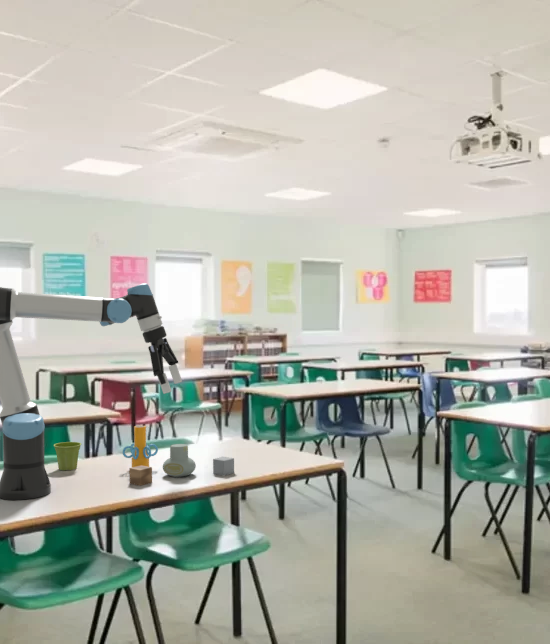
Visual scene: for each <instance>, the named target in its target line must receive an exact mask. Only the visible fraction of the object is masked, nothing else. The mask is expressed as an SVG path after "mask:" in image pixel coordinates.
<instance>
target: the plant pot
mask: <svg viewBox="0 0 550 644" xmlns="http://www.w3.org/2000/svg"><path fill="white" fill-rule="evenodd" d="M81 446H82V443H81V442H78V441H66V442H63V441H62V442H58V443H54V444H53V447H54V450H55V453H56V454H55V455H56V460H57V466H58V470H60V471H68V470H69V471H73V470H74V471H75V470H77V467H78V461H79V454H80V453H79V452H80V449H81Z"/></svg>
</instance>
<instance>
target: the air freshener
mask: <svg viewBox="0 0 550 644" xmlns="http://www.w3.org/2000/svg"><path fill="white" fill-rule="evenodd" d="M169 451H170V452H169V458H167V459H166V460H165V461H164V462H163V464H162V470H163V472H164V473H165V474H167V476H169V477H172V478H183V477H187V476H189V475H191V474H192V473H193V472H194V471H195V470H196V468H197V466H196V464H197V463H196V462H195V461H194V459H193V458H191V457H189V445H187V444H184V443H175V444H171V445H170V447H169Z"/></svg>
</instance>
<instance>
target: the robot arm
mask: <svg viewBox="0 0 550 644" xmlns="http://www.w3.org/2000/svg"><path fill="white" fill-rule="evenodd" d="M149 285H150V284H148V283H146V282H144V283H140V284H138V285H135V286H132V287H129V288H127V291H126V292H127V294H126V295H123V296H120V297H117V298H110V297H95V296H82V295H81V296H79V295H67V294H66V295H65V294H50V293H49V294H48V293H37V292H35V293H33V292H19V291H17V290H15V288H10V287H3V286H0V403H1V404H0V405H1V407H2V410H1V411H0V423H1V428H2V430H1V431H2V437H3V438H2V448H3V450H2V451H3V461H2V462H3V469H2V474H1V477H0V499H3V500H8V501H11V500H13V501H15V500H17V501H18V500H29V499H36V498H37V499H38V498H41V497H43V496H46V495H49V494H50V493H51V491H52V484H51V482H50V478H49V475H48V473H47V471H46V467H45V429H46V428H45V422H44V421H45V420H44V418H43V416H42V415H40V411H39V409H38V407H39V406H38V404H37V403H35V402H33V401H32V400H31V397H30V394H29V391H28V389H27V384H26V382H25V378H24V374H23V370H22V367H21V363H20V361H19V360H20V359H19V357H18V353H17V349H16V347H15V343H14V340H13V337H12V333H11V326H12V325H13V323H14V321H13V320H14V319H15V318H24V319H41V320H42V319H43V320H44V319H46V320H60V321H78V322H79V321H80V322H98V323H99V325H101V326H102V327H106V326H112V325H113V324H123V323H126V322H127V321H128V320H129V319H130V318H133V317H136V320H137V322H138V326H139V329H140V331H141V332H142V336H143V340H144V342H145V343H146V344H148V343H150V345H149V346H148V347H147V349H148V352H149V356H150V360H151V367H152V368H151V369H152V372H153V376H154V377H157V379H158V382H159V385H160V388H161V391H162V393H163V395H164V394H169V393H171V392H172V388H171V385H170V382H169V379H168V376H167V374H166V372H165V369H164V361H163V360H165V362H166V363H167V365H168V369H169V372H170V374H171V375H170V376H171V377H172V380H173V383H174V385H176V384H179V383H182V382H183V380H182V377H181V374H180V370H179V368H178V365H177V364H179V360H178V359H177V356H176V354H175V352H174V351H173V349H172V348H171V345H170V344H169V342H168V339H167V331H166V330H165V327H164V326H163V321H162V318H163V317H162V315H160V312H159V310H158V307H157V303H156V301H155V297H154V294H153V292H152V290H151V287H150V286H149Z"/></svg>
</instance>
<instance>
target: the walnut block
mask: <svg viewBox="0 0 550 644" xmlns="http://www.w3.org/2000/svg"><path fill="white" fill-rule="evenodd" d="M128 471H129V484H131V485H134V486H139V487H141V486H145V485H149V484H152V483H153V467H152V466H149V467H147V466H142V465H141V466H137V467H132V466H131V467H129V470H128Z"/></svg>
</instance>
